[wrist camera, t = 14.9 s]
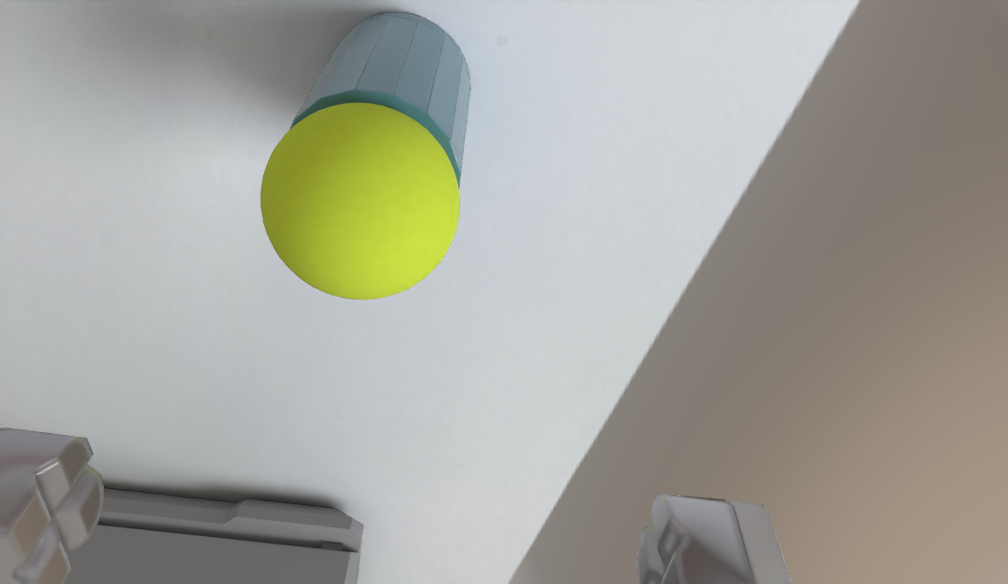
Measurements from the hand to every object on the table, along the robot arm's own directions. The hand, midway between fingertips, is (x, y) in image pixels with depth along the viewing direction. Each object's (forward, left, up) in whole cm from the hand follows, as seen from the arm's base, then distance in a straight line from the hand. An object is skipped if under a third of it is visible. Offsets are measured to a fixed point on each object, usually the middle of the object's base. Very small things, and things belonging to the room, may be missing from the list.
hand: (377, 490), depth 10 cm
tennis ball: (+2, +4, -14) cm, 15 cm away
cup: (+2, +4, -25) cm, 25 cm away
